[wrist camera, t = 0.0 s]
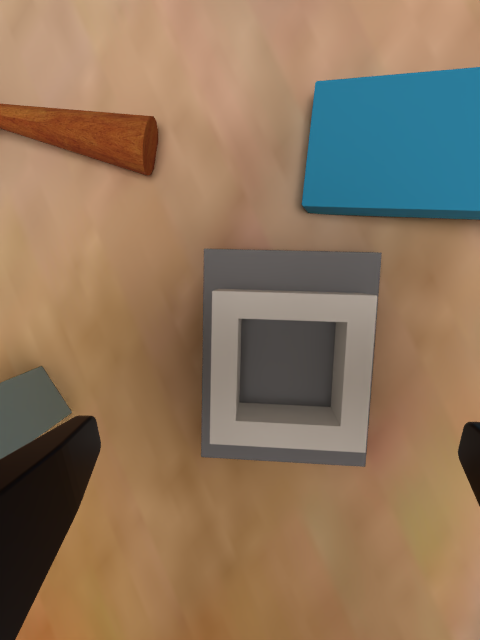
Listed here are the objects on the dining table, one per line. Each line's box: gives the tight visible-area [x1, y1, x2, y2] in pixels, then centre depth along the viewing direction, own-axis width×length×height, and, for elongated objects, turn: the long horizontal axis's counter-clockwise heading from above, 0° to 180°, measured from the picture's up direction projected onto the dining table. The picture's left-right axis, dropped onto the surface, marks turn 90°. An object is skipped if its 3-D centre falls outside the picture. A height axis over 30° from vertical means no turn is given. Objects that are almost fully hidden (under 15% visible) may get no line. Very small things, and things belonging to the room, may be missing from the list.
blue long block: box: [302, 67, 480, 220], centre depth 21 cm, size 7×7×18 cm
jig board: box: [201, 249, 382, 467], centre depth 22 cm, size 14×11×4 cm
